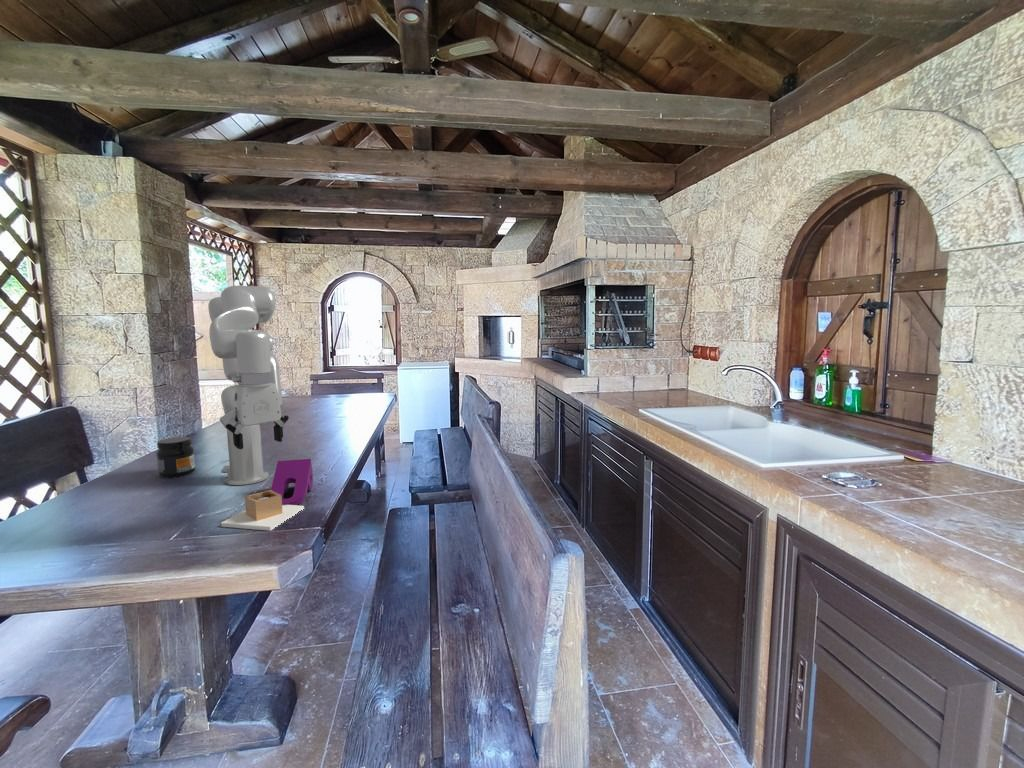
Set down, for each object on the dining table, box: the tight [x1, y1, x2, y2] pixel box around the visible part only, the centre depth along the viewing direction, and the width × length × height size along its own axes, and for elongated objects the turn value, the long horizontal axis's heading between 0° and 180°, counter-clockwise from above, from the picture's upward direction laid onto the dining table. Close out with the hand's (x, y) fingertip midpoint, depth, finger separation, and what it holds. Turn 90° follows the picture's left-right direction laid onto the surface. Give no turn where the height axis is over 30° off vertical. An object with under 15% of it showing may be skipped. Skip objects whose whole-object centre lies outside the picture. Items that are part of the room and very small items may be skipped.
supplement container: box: [155, 436, 196, 479], centre depth 163 cm, size 10×10×12 cm
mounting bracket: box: [270, 458, 314, 505], centre depth 142 cm, size 10×8×18 cm
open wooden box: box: [244, 489, 283, 521], centre depth 126 cm, size 7×7×5 cm
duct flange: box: [220, 497, 305, 532], centre depth 127 cm, size 14×14×5 cm
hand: (259, 444), depth 124 cm, fingers open, 9 cm apart
